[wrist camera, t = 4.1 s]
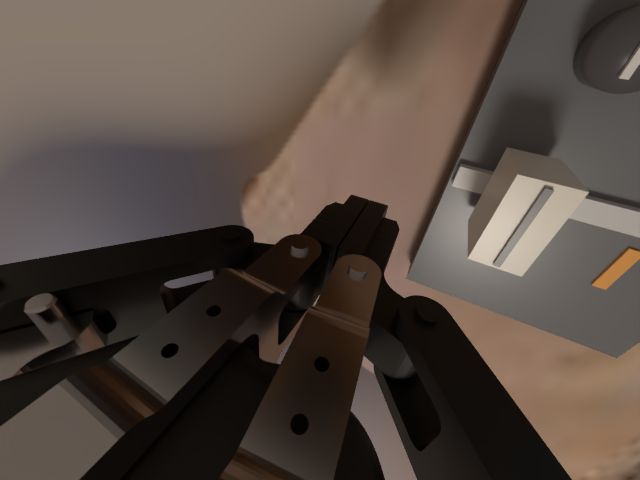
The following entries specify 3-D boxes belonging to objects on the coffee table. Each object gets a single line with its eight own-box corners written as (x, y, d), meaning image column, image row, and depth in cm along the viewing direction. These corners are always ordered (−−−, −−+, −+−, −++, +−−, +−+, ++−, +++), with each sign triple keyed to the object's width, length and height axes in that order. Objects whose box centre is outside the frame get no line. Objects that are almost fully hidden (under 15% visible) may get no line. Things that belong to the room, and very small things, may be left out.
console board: (537, -32, 12) (560, -60, 9) (1036, 1, 9) (1367, -28, 5) (410, 263, 23) (400, 297, 20) (605, 334, 19) (631, 388, 16)
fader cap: (506, 147, 14) (517, 175, 11) (561, 159, 13) (590, 193, 10) (467, 220, 16) (467, 260, 13) (511, 233, 16) (522, 278, 13)
